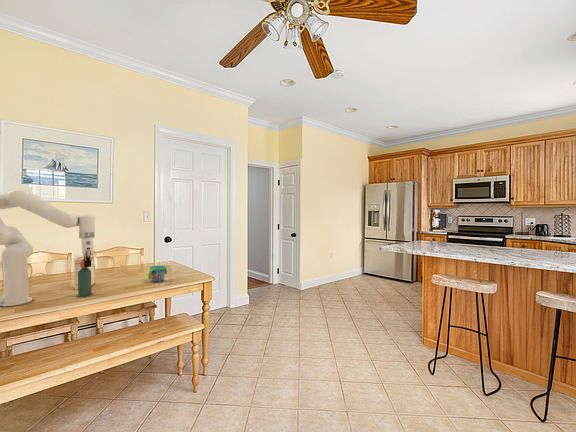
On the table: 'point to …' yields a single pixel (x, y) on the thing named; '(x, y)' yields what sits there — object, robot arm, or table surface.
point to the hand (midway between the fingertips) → (87, 265)
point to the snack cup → (157, 273)
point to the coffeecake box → (77, 267)
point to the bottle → (84, 282)
